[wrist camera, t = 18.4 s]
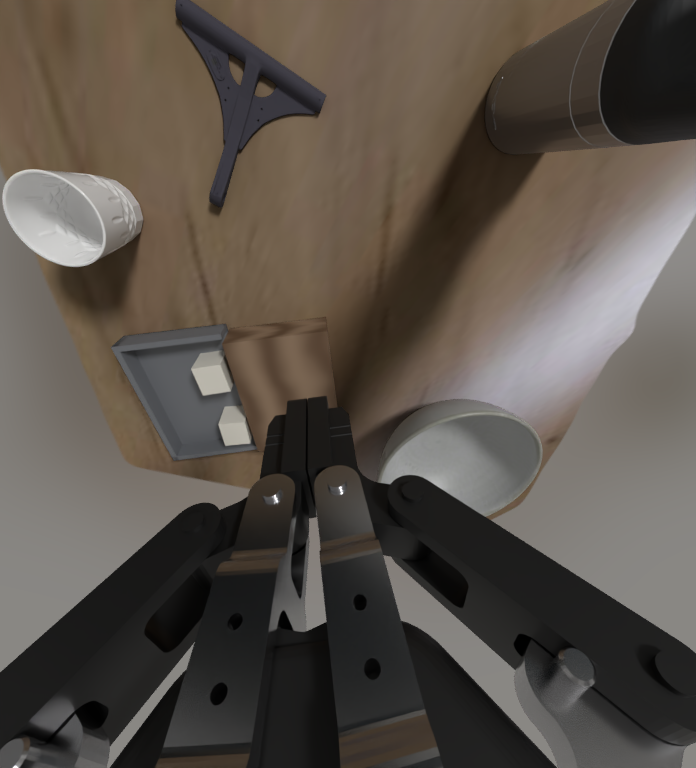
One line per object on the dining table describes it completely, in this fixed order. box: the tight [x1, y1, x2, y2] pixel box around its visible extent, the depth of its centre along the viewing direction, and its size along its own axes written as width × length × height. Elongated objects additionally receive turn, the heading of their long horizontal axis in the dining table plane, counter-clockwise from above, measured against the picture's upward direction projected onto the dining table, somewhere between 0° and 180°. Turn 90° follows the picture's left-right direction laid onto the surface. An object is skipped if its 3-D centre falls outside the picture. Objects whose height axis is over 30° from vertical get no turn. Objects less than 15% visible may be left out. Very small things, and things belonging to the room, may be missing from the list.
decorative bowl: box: [377, 399, 542, 517], centre depth 57 cm, size 27×27×12 cm
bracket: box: [175, 0, 326, 208], centre depth 34 cm, size 14×15×3 cm
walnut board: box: [222, 317, 338, 452], centre depth 50 cm, size 14×20×5 cm
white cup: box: [2, 169, 143, 267], centre depth 33 cm, size 8×8×10 cm
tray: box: [111, 324, 257, 461], centre depth 50 cm, size 14×22×4 cm, turn 5°
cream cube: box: [191, 350, 234, 396], centre depth 47 cm, size 4×4×4 cm
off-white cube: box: [218, 405, 252, 446], centre depth 53 cm, size 4×4×4 cm
